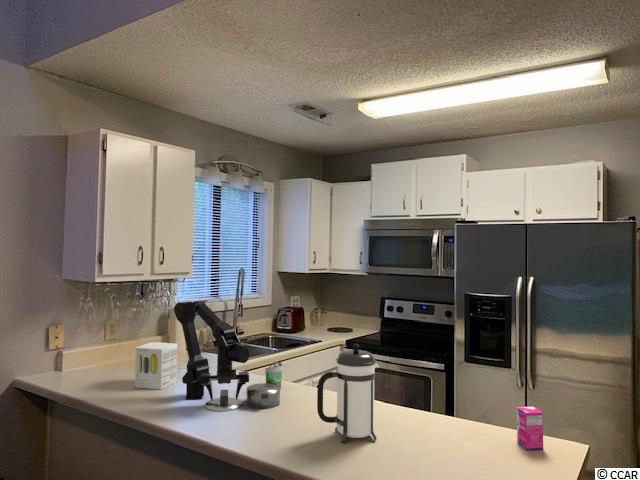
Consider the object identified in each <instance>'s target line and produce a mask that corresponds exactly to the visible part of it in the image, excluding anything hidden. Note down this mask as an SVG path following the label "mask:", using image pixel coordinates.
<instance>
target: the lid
mask: <svg viewBox="0 0 640 480" xmlns="http://www.w3.org/2000/svg"><path fill="white" fill-rule="evenodd" d="M242 407H243V400H241V399H239V398H237V400H236V397H229V389H220V395H219V397H217V398H213V401H211V399H210V400H208V401H206V402H205V409H207V410H208V411H213V412H232V411H236V410H239V409H240V408H242Z"/></svg>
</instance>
